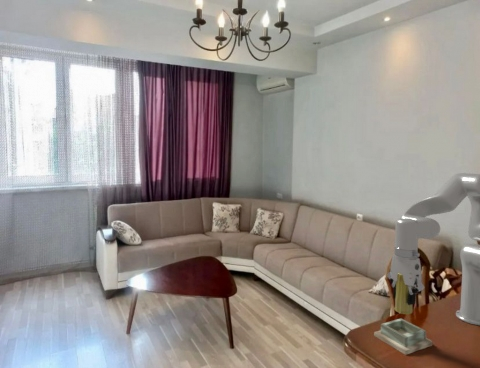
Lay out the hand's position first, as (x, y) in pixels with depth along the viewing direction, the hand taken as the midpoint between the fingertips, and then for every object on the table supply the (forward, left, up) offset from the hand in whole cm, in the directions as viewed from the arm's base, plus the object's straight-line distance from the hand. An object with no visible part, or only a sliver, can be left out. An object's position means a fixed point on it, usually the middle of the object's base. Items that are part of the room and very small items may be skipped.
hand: (403, 300), depth 127 cm
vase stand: (0, 0, -15) cm, 15 cm away
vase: (0, 0, -4) cm, 4 cm away
